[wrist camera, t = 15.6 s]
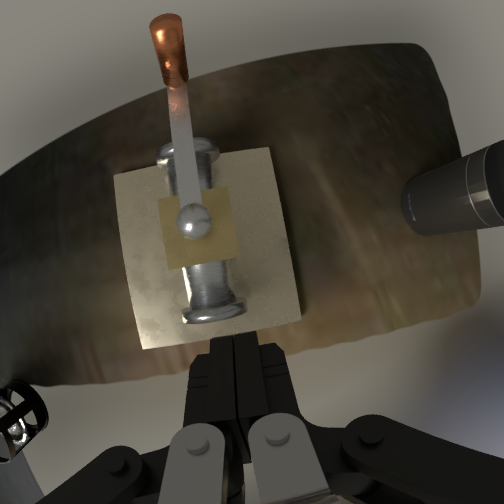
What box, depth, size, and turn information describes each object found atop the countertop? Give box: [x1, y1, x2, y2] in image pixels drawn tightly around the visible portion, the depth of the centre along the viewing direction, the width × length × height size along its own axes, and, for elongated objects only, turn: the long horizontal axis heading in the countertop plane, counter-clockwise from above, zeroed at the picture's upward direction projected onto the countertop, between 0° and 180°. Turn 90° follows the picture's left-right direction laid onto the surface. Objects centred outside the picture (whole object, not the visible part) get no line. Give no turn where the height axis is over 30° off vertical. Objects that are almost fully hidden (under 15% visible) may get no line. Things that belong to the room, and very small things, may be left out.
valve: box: [114, 137, 302, 349], centre depth 32 cm, size 20×22×12 cm
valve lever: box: [149, 13, 211, 240], centre depth 21 cm, size 17×3×9 cm, turn 10°
